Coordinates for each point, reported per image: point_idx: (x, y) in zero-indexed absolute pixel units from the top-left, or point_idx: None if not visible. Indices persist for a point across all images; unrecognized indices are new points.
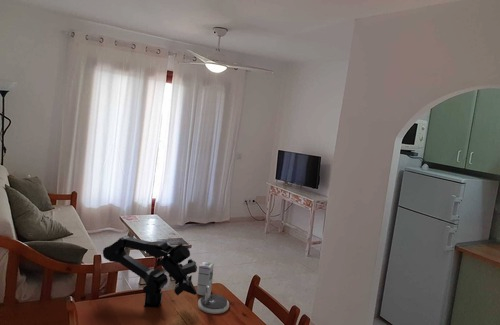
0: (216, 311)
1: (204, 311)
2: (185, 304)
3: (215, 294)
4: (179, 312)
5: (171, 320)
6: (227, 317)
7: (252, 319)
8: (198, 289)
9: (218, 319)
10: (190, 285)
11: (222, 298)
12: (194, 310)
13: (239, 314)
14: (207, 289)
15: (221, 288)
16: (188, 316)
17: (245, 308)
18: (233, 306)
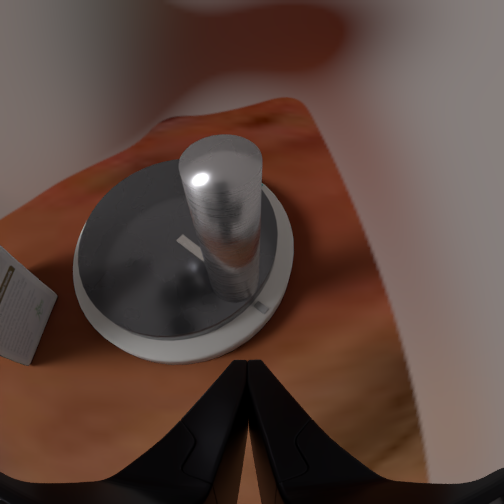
0: (288, 224)
1: (275, 309)
2: None
3: (85, 227)
4: None
5: None
6: (312, 179)
7: (297, 103)
8: (10, 347)
9: (350, 220)
10: (378, 476)
11: (144, 183)
12: None
13: (266, 135)
14: (261, 188)
15: (3, 224)
16: (367, 414)
17: (203, 118)
18: None
